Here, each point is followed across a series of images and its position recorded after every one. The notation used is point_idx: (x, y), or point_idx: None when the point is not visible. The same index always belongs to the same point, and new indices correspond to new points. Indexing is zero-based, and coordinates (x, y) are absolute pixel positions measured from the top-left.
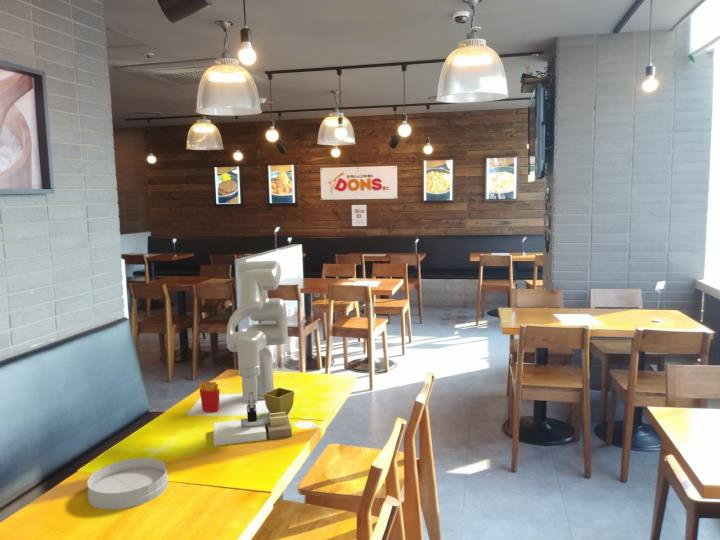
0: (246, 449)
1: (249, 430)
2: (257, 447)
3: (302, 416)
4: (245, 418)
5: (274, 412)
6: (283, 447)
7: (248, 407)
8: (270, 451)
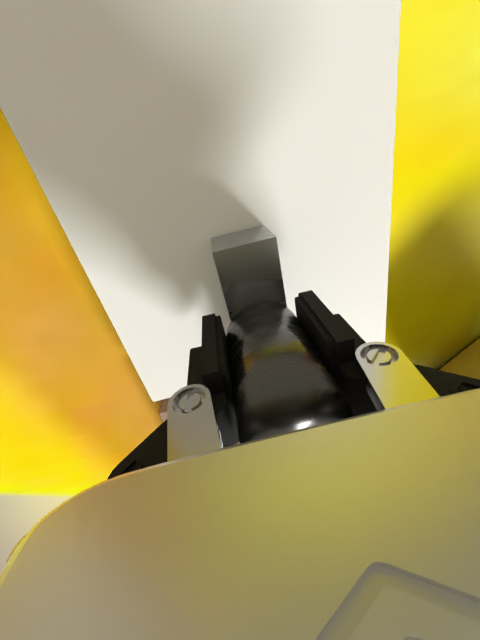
0: (9, 298)
1: (162, 308)
2: (54, 349)
3: None
4: (281, 279)
5: (466, 366)
6: (80, 445)
7: (171, 446)
8: (22, 411)
